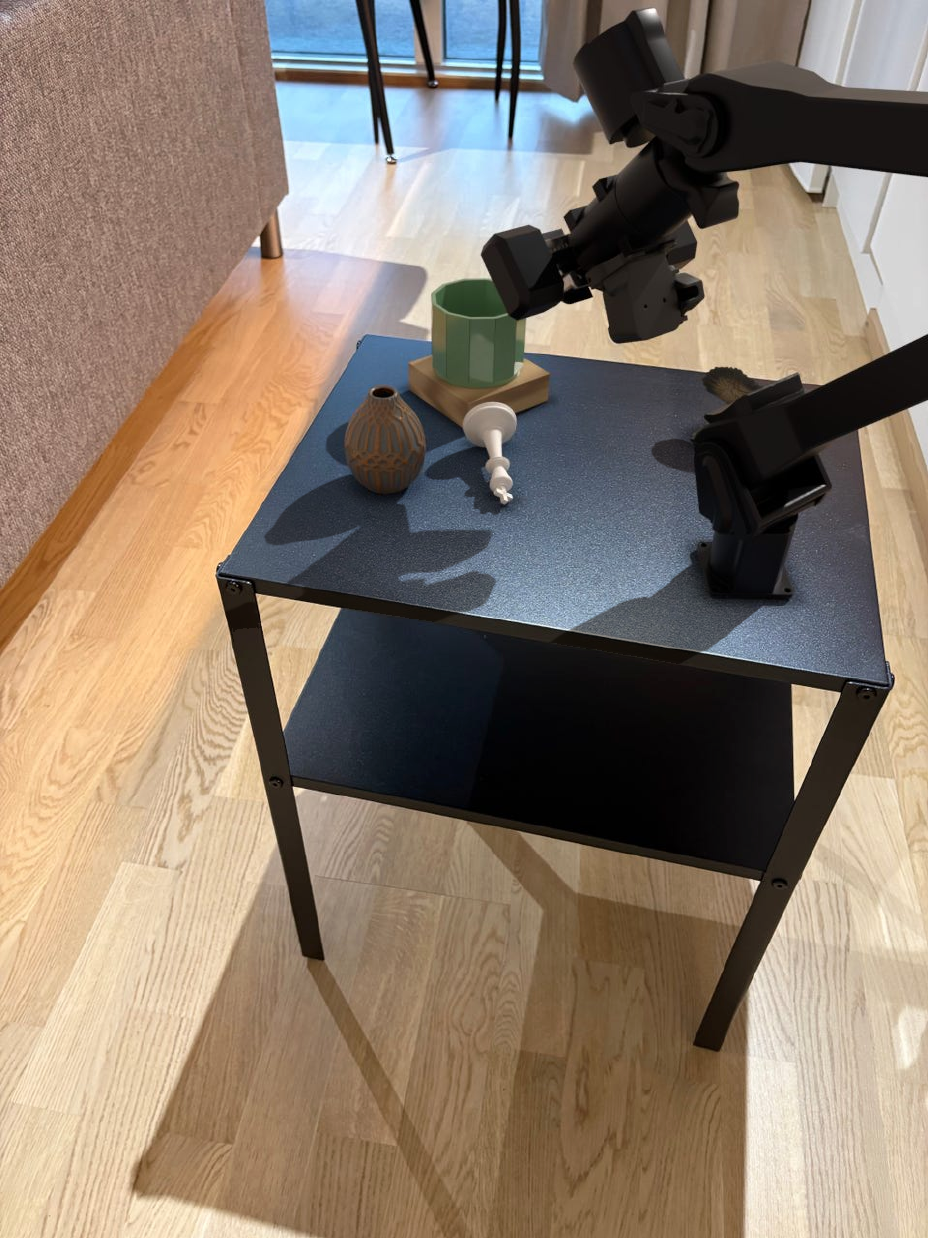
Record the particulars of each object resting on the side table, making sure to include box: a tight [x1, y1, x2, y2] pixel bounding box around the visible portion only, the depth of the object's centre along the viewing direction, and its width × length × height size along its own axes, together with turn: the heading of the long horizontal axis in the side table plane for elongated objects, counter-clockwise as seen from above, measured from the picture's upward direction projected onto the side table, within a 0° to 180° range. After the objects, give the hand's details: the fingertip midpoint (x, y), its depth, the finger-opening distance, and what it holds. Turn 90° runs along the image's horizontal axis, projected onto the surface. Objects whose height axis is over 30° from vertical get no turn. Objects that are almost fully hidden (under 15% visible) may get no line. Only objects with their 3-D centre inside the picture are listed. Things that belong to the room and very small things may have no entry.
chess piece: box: [462, 402, 517, 505], centre depth 88 cm, size 5×5×10 cm
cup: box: [430, 277, 527, 388], centre depth 96 cm, size 9×9×7 cm
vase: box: [344, 384, 427, 495], centre depth 85 cm, size 7×7×9 cm
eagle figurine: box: [691, 366, 765, 441], centre depth 92 cm, size 8×7×9 cm
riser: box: [407, 354, 551, 429], centre depth 99 cm, size 10×10×3 cm
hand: (542, 300), depth 86 cm, fingers closed
